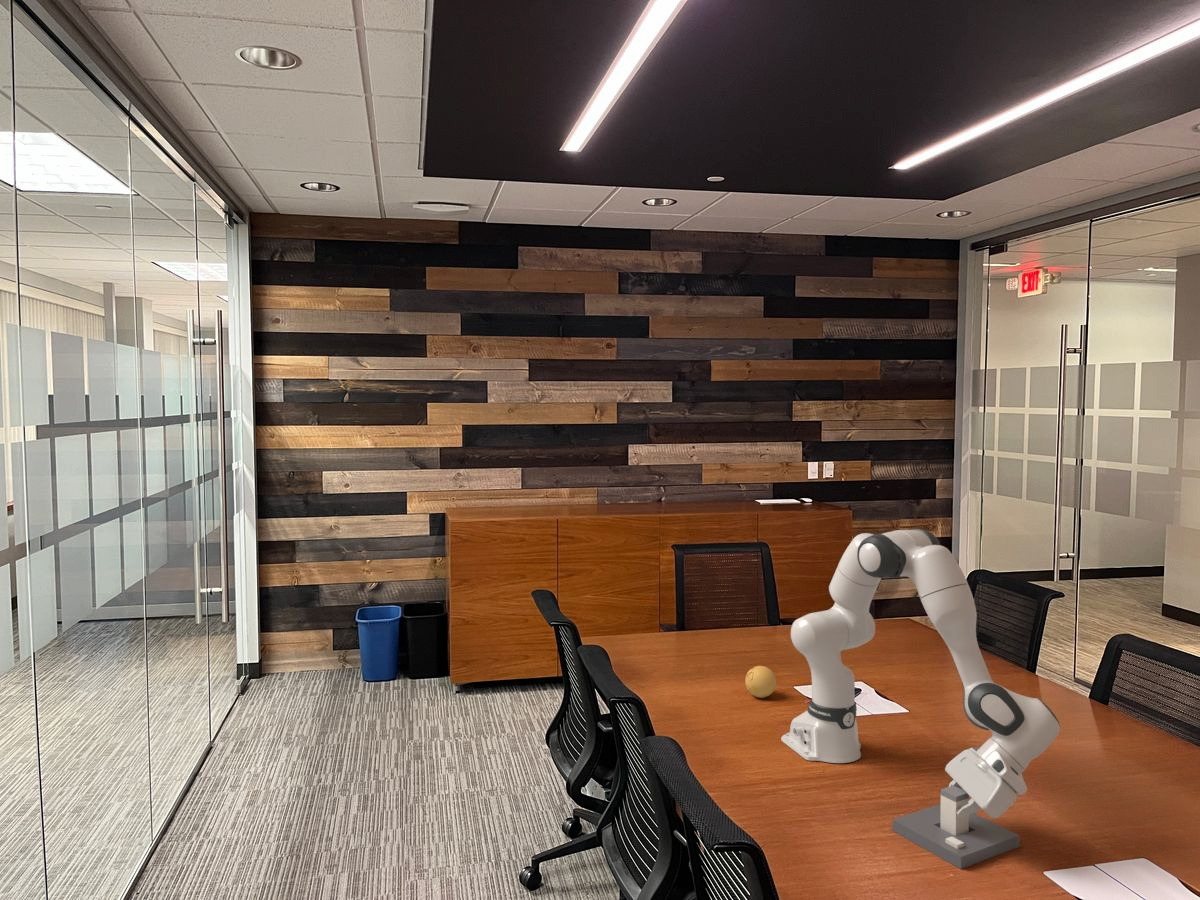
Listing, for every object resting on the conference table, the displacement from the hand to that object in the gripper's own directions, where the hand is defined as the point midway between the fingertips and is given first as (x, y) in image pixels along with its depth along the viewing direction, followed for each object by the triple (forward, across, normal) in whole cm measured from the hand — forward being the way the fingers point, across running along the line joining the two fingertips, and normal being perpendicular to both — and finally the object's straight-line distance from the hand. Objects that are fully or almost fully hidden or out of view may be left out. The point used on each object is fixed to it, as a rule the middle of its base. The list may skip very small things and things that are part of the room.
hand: (951, 808), depth 184 cm
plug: (+3, 0, +4) cm, 5 cm away
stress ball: (+22, -91, -12) cm, 94 cm away
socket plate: (+4, 0, +5) cm, 7 cm away
